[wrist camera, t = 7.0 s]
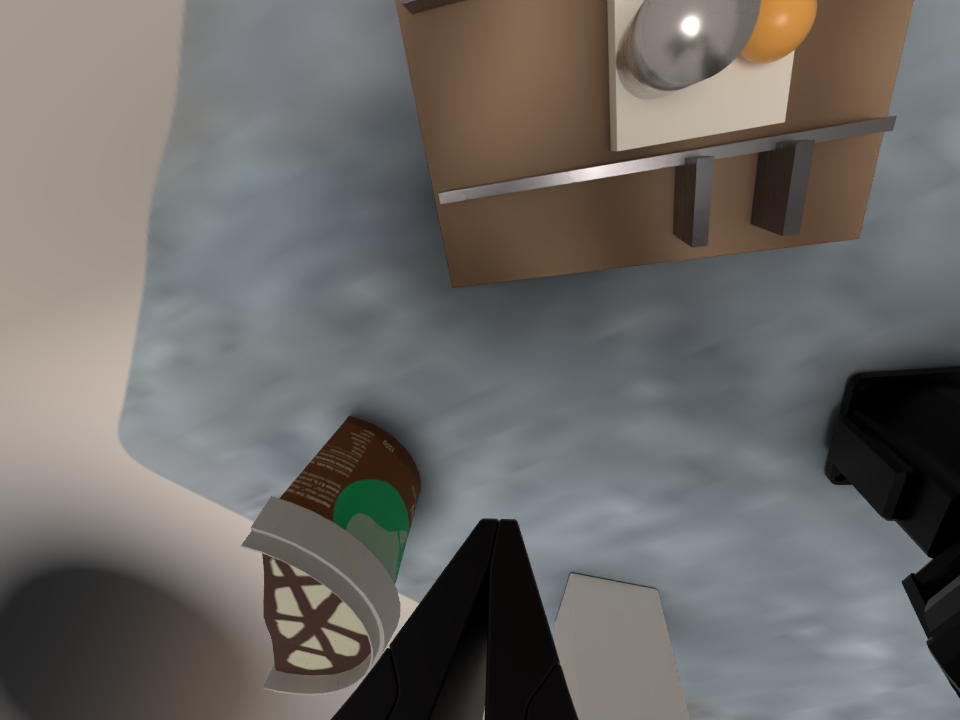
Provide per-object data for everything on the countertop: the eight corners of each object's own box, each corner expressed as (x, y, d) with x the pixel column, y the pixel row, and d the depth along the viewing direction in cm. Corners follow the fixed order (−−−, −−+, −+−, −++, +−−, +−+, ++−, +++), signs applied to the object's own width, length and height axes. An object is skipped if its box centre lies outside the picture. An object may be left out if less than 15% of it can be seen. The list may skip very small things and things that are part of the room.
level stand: (944, -308, 11) (1131, -521, 7) (834, 231, 17) (909, 253, 14) (382, -120, 14) (328, -207, 11) (458, 278, 20) (440, 306, 17)
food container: (427, 554, 30) (377, 724, 21) (345, 534, 30) (263, 693, 22) (451, 419, 24) (396, 575, 15) (349, 395, 25) (239, 536, 16)
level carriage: (783, -69, 12) (945, -215, 7) (761, 124, 14) (874, 113, 9) (606, -24, 13) (642, -125, 8) (610, 150, 15) (641, 153, 10)
